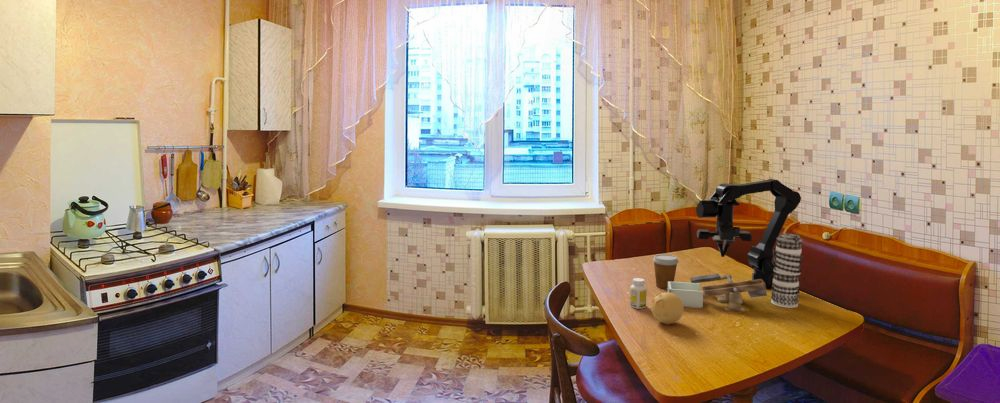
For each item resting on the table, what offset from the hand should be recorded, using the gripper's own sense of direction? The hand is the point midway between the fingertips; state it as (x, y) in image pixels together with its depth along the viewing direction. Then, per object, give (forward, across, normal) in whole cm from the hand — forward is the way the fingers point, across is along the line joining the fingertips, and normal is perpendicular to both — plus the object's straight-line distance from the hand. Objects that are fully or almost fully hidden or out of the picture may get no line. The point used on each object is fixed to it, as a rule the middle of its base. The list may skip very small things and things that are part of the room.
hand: (722, 256), depth 193 cm
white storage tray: (+12, -15, -20) cm, 28 cm away
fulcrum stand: (+13, +1, -18) cm, 22 cm away
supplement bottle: (+13, -31, -28) cm, 44 cm away
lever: (+9, 0, -16) cm, 18 cm away
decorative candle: (+13, +19, -13) cm, 26 cm away
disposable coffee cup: (+13, -21, -3) cm, 25 cm away
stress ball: (+13, -22, -41) cm, 48 cm away
